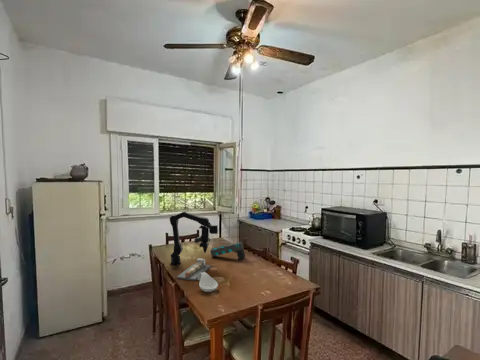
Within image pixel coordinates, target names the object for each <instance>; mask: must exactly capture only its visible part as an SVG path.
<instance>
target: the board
mask: <svg viewBox="0 0 480 360" xmlns="http://www.w3.org/2000/svg"><path fill="white" fill-rule="evenodd" d="M196 264H197V263H193V264H192V265H191V266H189V267H188V268H186V269H185V270H184V271H183V272H181V273H180V274H178V275H177V276H176V279H180V280H189V281H196V280H197V281H198V275H199V273H203V272H206V273H207V271H208V270H209V269H210V268H211V267H212V266H211V265H210V264H205V266H203V265H202V267H200V268H199V269H198V270H197V271H195V272H194V273H193V274H191V275H190V276H189V277H185V273H186V272H187V271H189V270H190V269H191V268H192V267H194V266H195V265H196Z"/></svg>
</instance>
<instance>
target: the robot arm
mask: <svg viewBox="0 0 480 360" xmlns="http://www.w3.org/2000/svg"><path fill="white" fill-rule="evenodd" d="M183 218H185V219H189V220H191V221H194V222H197V223H198V224H199V225H200V226H199V227H198V228H199V229H201V235H200V236H198V237H195V238H194V243H195V244H197V243H199V247H200V248H202V249H203V253H204V254H206V252H207V250H208V247H209V245H210V242H211V239H210V237H209V236H210V235H212V234H213V235H218V232H219V228H218V225H216V224H215V225H212V224H211V222H210V219H209V218H208V217H204V216H197V215H195V214H193V213H189V212H187V211H181V212H180V213H178V214H173V215H171V216H170V217H169V224H170V225H171V228H172V235H173V236H172V237H173V243H174V244H173V252H172V253H171V254H170V263H169V264H170V265H172V266H179V265H180V264H181V263H182V262H181V256H180V255H181V254H182V252H183V250H184V246H183V243H181V241H180V240H181V239H180V232H179V220H180V219H183Z"/></svg>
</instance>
